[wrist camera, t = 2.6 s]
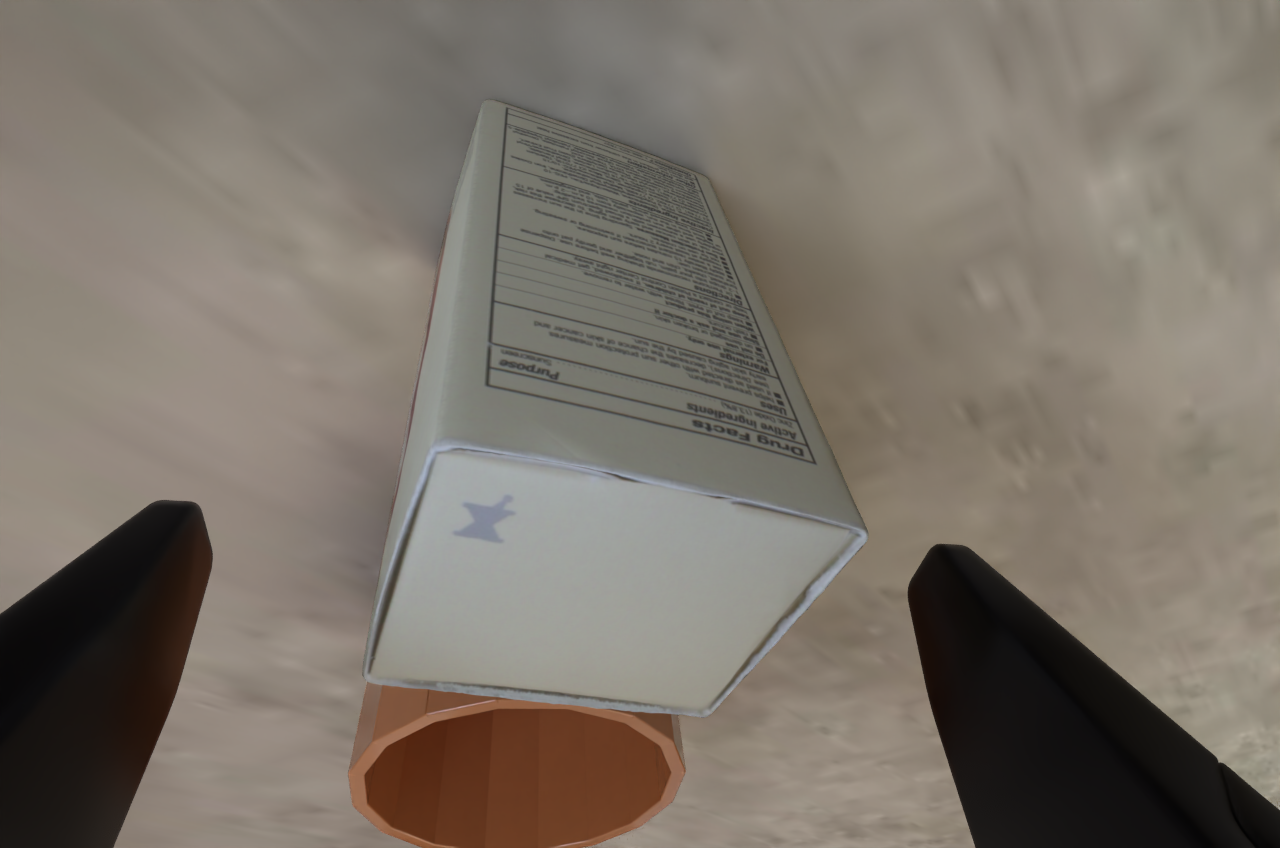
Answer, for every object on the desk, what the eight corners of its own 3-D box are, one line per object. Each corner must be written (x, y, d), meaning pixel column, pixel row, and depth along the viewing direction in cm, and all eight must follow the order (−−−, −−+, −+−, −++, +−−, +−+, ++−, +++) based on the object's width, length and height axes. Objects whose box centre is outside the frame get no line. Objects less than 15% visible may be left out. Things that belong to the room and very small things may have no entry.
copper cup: (682, 518, 23) (716, 702, 18) (634, 679, 28) (651, 853, 23) (383, 502, 21) (336, 698, 16) (392, 675, 26) (359, 860, 22)
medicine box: (430, 280, 17) (330, 686, 9) (484, 87, 14) (407, 418, 7) (644, 344, 18) (712, 735, 11) (724, 180, 16) (887, 534, 8)
